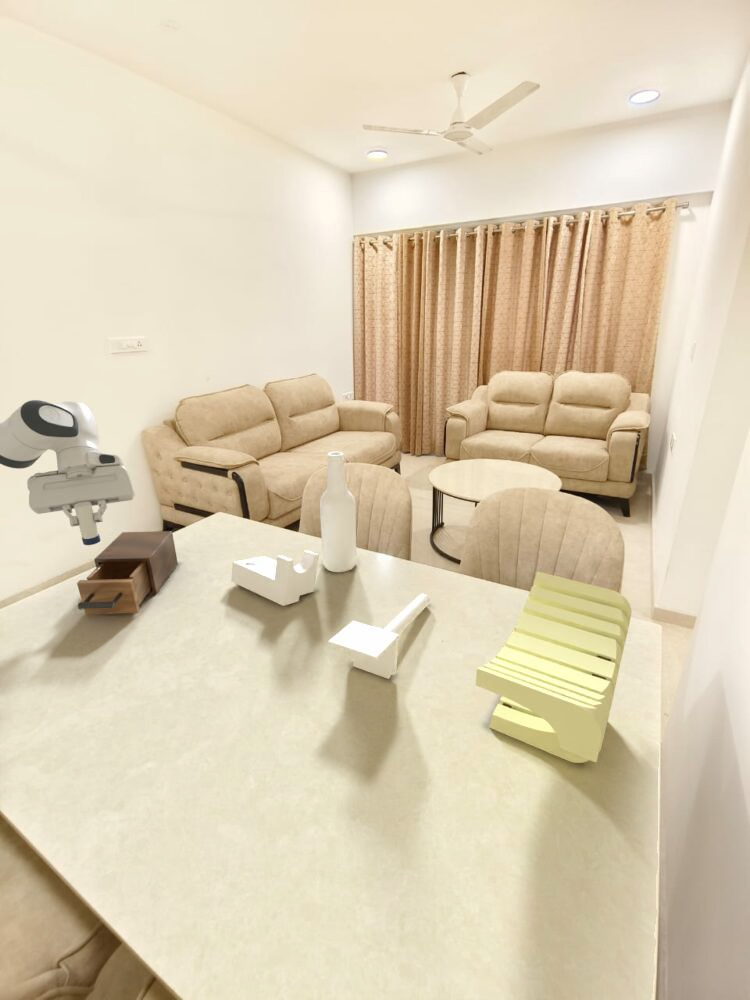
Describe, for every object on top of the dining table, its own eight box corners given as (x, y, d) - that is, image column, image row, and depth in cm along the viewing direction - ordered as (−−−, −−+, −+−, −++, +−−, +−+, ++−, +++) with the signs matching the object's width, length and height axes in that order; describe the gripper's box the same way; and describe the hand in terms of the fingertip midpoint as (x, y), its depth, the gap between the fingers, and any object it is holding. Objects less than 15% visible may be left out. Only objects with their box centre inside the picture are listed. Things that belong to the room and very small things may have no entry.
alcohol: (351, 574, 125) (347, 459, 114) (318, 571, 127) (311, 457, 116) (360, 558, 133) (358, 449, 122) (329, 555, 135) (323, 447, 124)
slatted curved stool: (584, 821, 65) (606, 715, 59) (469, 766, 73) (476, 668, 66) (617, 681, 89) (635, 595, 82) (527, 652, 97) (537, 571, 90)
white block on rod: (328, 640, 85) (406, 576, 113) (327, 685, 87) (404, 611, 115) (376, 657, 81) (445, 586, 108) (374, 703, 83) (442, 622, 111)
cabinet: (156, 594, 118) (149, 558, 114) (102, 595, 118) (94, 559, 114) (178, 564, 131) (172, 531, 128) (129, 565, 131) (122, 532, 128)
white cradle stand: (313, 596, 118) (318, 554, 117) (283, 605, 110) (288, 560, 109) (262, 574, 128) (266, 535, 127) (231, 581, 120) (235, 539, 119)
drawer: (127, 626, 105) (120, 594, 102) (72, 627, 104) (63, 595, 102) (160, 580, 122) (155, 552, 119) (113, 582, 122) (106, 553, 119)
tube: (80, 545, 109) (70, 507, 106) (88, 538, 112) (78, 501, 109) (95, 545, 109) (86, 507, 106) (103, 538, 112) (94, 501, 109)
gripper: (21, 467, 106) (26, 526, 102) (127, 455, 114) (135, 509, 109) (31, 481, 112) (35, 537, 107) (131, 468, 120) (139, 520, 115)
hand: (87, 523), depth 108 cm, fingers closed on tube, 3 cm apart
